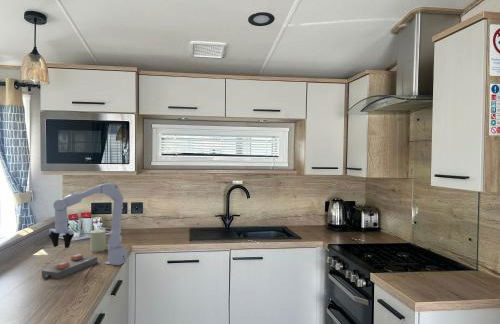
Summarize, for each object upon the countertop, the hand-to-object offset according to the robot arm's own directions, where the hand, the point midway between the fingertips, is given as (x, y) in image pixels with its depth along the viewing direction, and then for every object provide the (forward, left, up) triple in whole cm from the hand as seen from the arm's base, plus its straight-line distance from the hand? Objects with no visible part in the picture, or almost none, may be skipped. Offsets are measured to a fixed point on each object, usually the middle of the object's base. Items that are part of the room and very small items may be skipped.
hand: (61, 247), depth 182 cm
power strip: (-8, +3, -10) cm, 14 cm away
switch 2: (-6, -5, -7) cm, 10 cm away
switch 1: (-10, +8, -7) cm, 15 cm away
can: (+5, -32, -11) cm, 34 cm away
